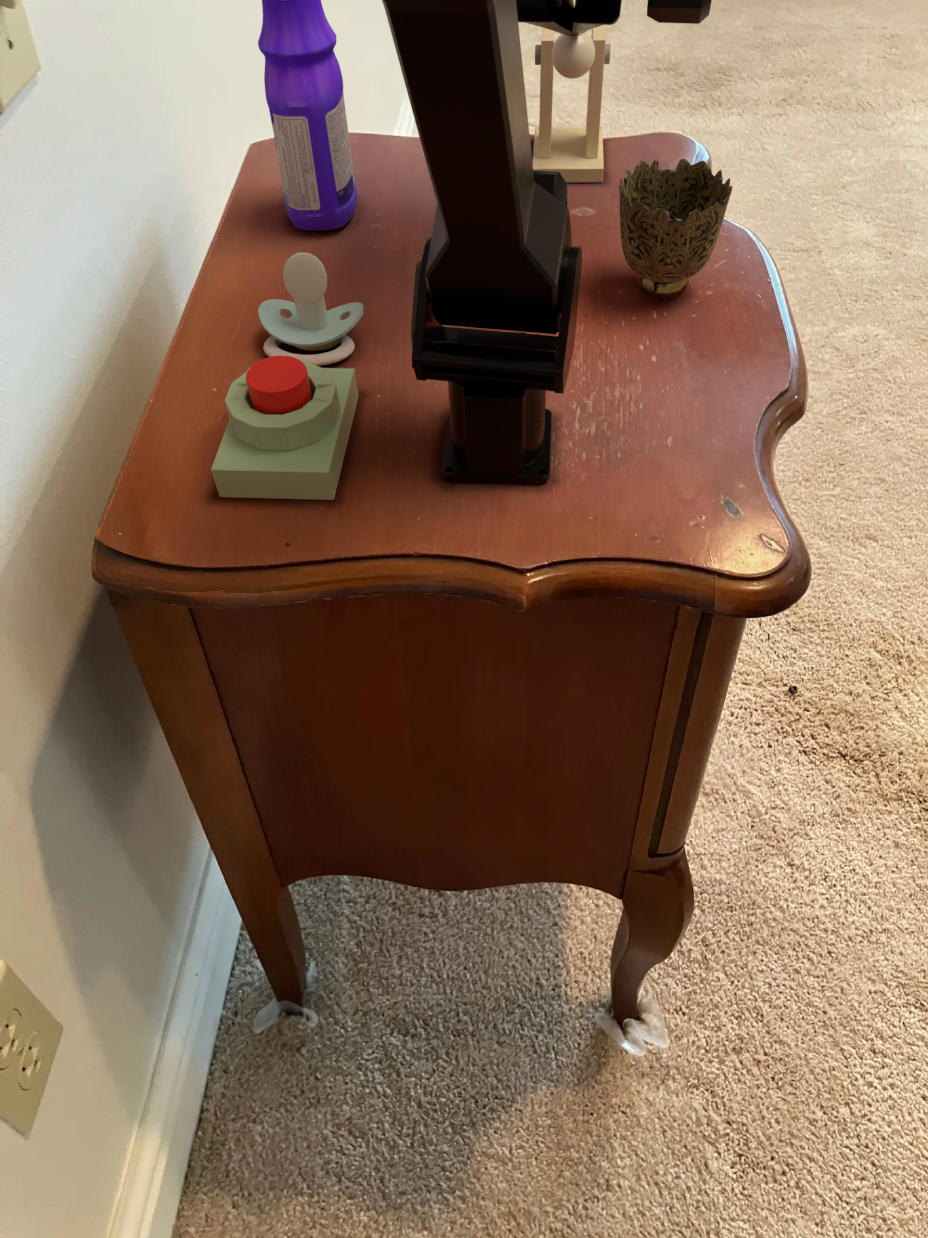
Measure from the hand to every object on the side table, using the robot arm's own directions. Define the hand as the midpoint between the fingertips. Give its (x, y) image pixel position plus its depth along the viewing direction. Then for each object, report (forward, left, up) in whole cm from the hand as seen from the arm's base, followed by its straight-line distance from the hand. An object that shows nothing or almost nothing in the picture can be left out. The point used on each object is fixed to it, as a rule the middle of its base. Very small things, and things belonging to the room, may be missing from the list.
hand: (574, 28), depth 68 cm
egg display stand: (+7, 0, -13) cm, 14 cm away
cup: (-14, -7, -13) cm, 20 cm away
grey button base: (-32, +17, -13) cm, 38 cm away
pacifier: (-21, +18, -13) cm, 30 cm away
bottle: (-3, +20, -13) cm, 24 cm away
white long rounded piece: (+3, 0, -4) cm, 5 cm away
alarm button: (-32, +17, -9) cm, 37 cm away
